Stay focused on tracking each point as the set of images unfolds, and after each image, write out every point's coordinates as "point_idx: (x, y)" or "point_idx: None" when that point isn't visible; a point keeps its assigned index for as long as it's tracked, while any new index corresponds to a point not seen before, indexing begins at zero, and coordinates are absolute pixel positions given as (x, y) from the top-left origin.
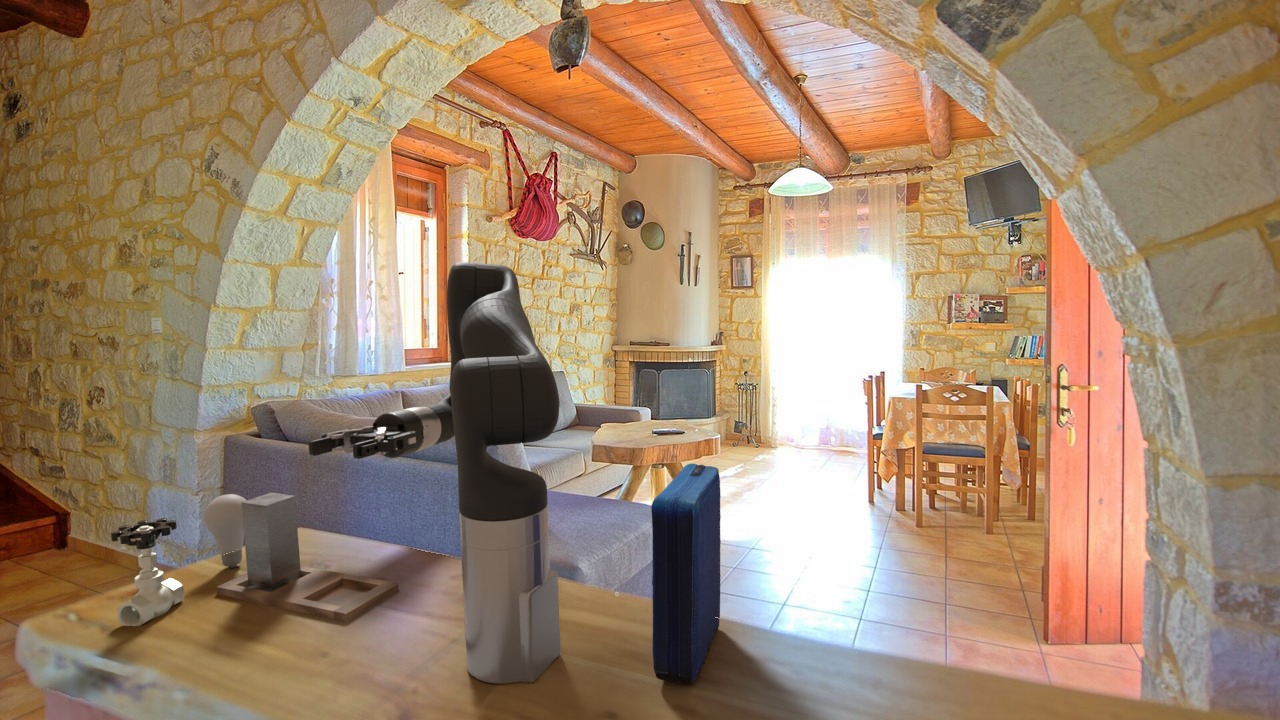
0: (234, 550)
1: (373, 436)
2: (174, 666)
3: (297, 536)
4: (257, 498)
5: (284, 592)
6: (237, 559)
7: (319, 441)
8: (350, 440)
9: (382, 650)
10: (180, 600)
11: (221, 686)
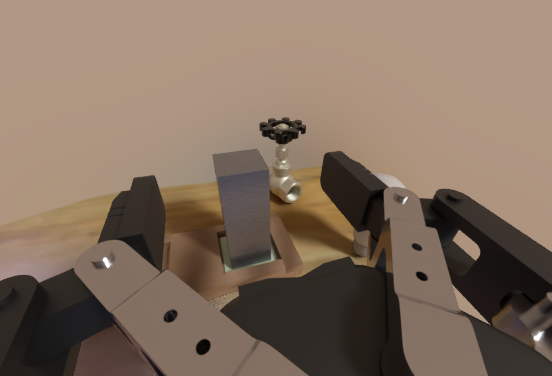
0: (353, 235)
1: (231, 302)
2: (195, 187)
3: (225, 227)
4: (255, 157)
5: (202, 238)
6: (354, 247)
7: (337, 166)
8: (499, 329)
9: (32, 260)
10: (282, 199)
11: None
